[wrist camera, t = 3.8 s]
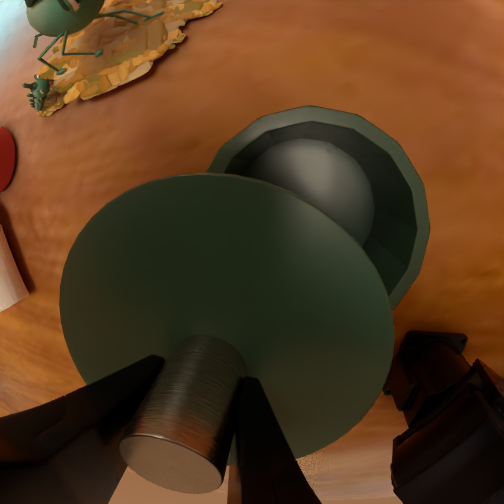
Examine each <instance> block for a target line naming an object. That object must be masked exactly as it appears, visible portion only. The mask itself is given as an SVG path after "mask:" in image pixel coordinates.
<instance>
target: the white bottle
mask: <svg viewBox="0 0 504 504" xmlns="http://www.w3.org/2000/svg"><path fill="white" fill-rule="evenodd" d="M28 295H29V293H28V291H27V288H26V286H25V284H24V282H23V280H22V278H21V275H20V273H19V271H18V268H17V266H16V263H15V261H14V258H13V256H12V253H11V251H10V248H9V246H8V243H7V240H6V237H5V234H4V232H3V229H2V226H1V224H0V312H1V311H3V310H5V309H7V308H8V307H10V306H12V305H14V304H15V303H17V302H19V301H20V300H22V299H23V298H25V297H27V296H28Z"/></svg>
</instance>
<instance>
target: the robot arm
mask: <svg viewBox="0 0 504 504" xmlns="http://www.w3.org/2000/svg"><path fill="white" fill-rule="evenodd" d="M411 336H413V337H412V338H411V339H409V338H410V337H411ZM462 339H463V340H462ZM461 340H462V341H461ZM467 340H468V338H467V337H466V335H465V334H453V333H438V332H424V331H409V332H408V333H407V334H406V335H405V338H404V340H403V343H402V345H401V348H400V350H399V353H398V354H397V355H396V357H395V359H394V362H393V364H392V366H391V369H390V371H389V374H388V376H387V379H386V380H387V381H386V383H385V385H384V387H383V392H384V394H385V395H392V396H393V398H394V401H395V404H396V407H397V409H398V410H399V411H403V414H404V417H405V419H406V422H407V425H408V427H409V428H408V429H407V430H406V431H405V432H404V433H402V434H401V435H398V436H397V437H396V438H394V439H393V452H392V463H391V466H390V469H391V480H392V485H393V487H394V489H393V491H394V493H395V494H396V495H397V496H398V498H399V499H400V500H401V501H402V503H403V504H504V380H503V379H502V378H501V377H500V376H499V375H498V374H497V373H495V372H494V371H493V370H492V369H491V368H489V367H488V366H487V365H486V364H484V363H483V362H482V361H481V360H479V359H478V358H477V359H476V361H475V362H474V363H473V366H472V367H471V366H470V365H469V363H468V362H467V361H466V359H465V358H464V357H463V355H462V352H463V350H464V347H465V345H466V343H467ZM164 363H165V358H164V357H162V356H158V355H154V354H151V355H149V356H147V357H145V358H143V359H141V360H139V361H137V362H135V363H133V364H131V365H129V366H127V367H124V368H122V369H120V370H118V371H116V372H114V373H112V374H110V375H108V376H106V377H104V378H101V379H99V380H97V381H95V382H93V383H91V384H89V385H86V386H84V387H82V388H80V389H78V390H75V391H73V392H71V393H69V394H67V395H66V397H65V396H62V397H60V398H57V399H55V400H53V401H50V402H48V403H45V404H43V405H40V406H37V407H34V408H31V409H28V410H25V411H22V412H18V413H15V414H11V415H8V416H4V417H0V504H108V503H109V501H110V499H111V497H112V495H113V493H114V491H115V489H116V487H117V485H118V483H119V481H120V479H121V478H122V476H123V474H124V472H125V470H126V468H127V466H128V465H127V464H126V463H125V462H124V460H123V459H122V457H121V456H120V453H119V450H118V443H119V440H120V439H121V437H122V435H123V433H124V432H125V430H126V428H127V426H128V425H129V423H130V421H131V420H132V418H133V416H134V414H135V413H136V411H137V409H138V407H139V406H140V404H141V402H142V401H143V399H144V397H145V396H146V394H147V392H148V390H149V389H150V387H151V385H152V384H153V382H154V380H155V379H156V377H157V375H158V373H159V372H160V370H161V368H162V367H163V365H164ZM388 389H390V390H388ZM227 500H228V501H227V504H322V503H321V502H320V500H319V499H318V497H317V496H316V494H315V493H314V491H313V490H312V488H311V487H310V485H309V484H308V482H307V480H306V478H305V476H304V475H303V473H302V471H301V469H300V467H299V465H298V463H297V461H296V460H295V457H294V455H293V452H292V450H291V448H290V446H289V444H288V442H287V440H286V438H285V435H284V433H283V431H282V429H281V427H280V425H279V422H278V420H277V418H276V416H275V414H274V412H273V409H272V407H271V405H270V403H269V400H268V398H267V396H266V394H265V391H264V389H263V387H262V385H261V382H260V380H259V379H258V378H256V377H250V376H245V377H244V381H243V385H242V390H241V394H240V399H239V404H238V409H237V416H236V424H235V430H234V435H233V440H232V444H231V450H230V466H229V482H228V498H227Z"/></svg>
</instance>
